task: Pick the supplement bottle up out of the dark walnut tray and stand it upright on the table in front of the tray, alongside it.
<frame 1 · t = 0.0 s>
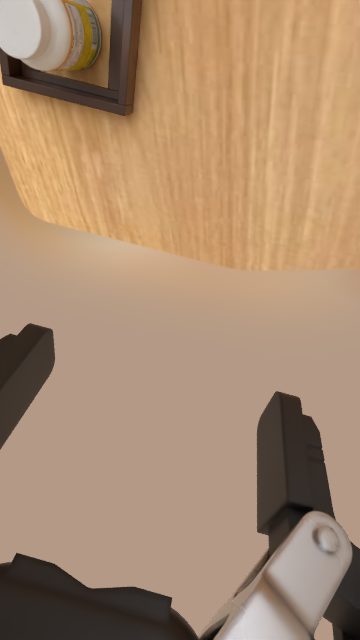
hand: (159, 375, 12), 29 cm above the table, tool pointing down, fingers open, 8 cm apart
supplement bottle: (75, 33, 30), resting in tray
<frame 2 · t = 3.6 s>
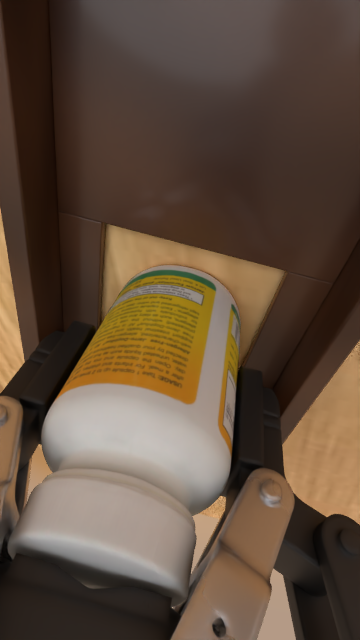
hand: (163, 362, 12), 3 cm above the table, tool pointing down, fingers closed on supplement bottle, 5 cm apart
tray: (199, 230, 12), on the table
supplement bottle: (179, 311, 15), resting in tray, touching gripper
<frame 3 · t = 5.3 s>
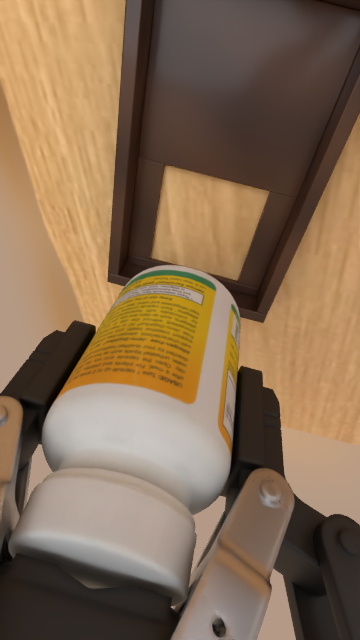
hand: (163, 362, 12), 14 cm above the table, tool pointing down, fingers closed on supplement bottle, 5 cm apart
tray: (219, 167, 21), on the table
supplement bottle: (179, 311, 15), point 11 cm above the table, touching gripper
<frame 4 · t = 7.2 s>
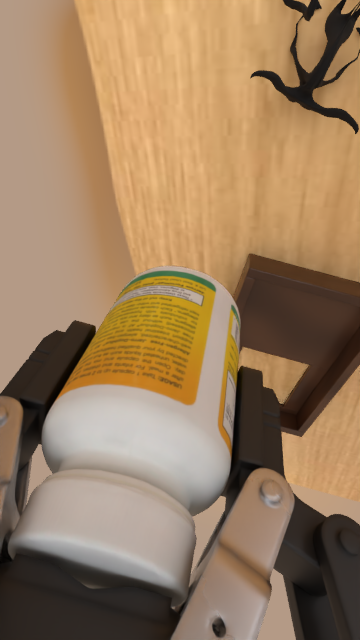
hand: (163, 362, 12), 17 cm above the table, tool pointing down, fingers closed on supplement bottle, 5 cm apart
tray: (278, 349, 32), on the table
supplement bottle: (179, 312, 15), point 14 cm above the table, touching gripper
creature: (332, 27, 18), on the table
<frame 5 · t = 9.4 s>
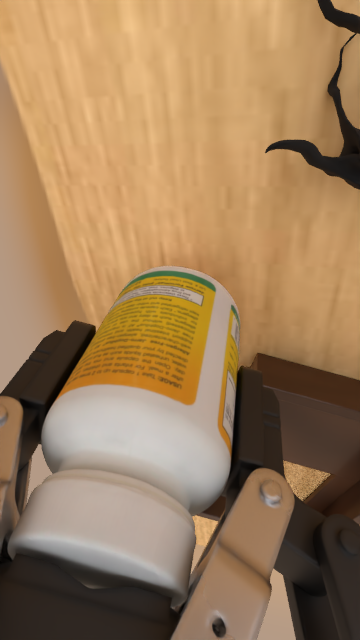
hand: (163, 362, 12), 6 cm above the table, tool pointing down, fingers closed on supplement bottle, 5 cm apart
tray: (293, 454, 25), on the table
supplement bottle: (179, 312, 15), point 3 cm above the table, touching gripper
when the fingers open (3 cm above the table, at t = 10.8 s): supplement bottle stays where it is, on the table.
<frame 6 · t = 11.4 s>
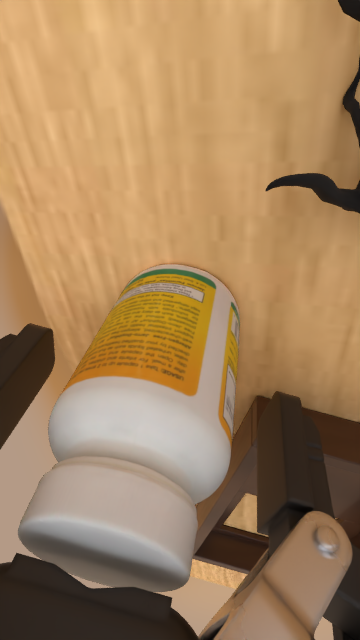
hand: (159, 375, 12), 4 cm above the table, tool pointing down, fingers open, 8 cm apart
tray: (297, 497, 23), on the table
supplement bottle: (180, 309, 15), on the table
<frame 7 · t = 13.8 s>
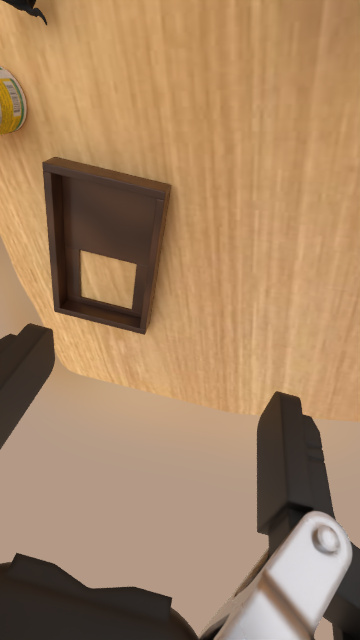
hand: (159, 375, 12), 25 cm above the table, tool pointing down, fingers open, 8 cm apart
tray: (108, 251, 38), on the table
supplement bottle: (2, 98, 31), on the table
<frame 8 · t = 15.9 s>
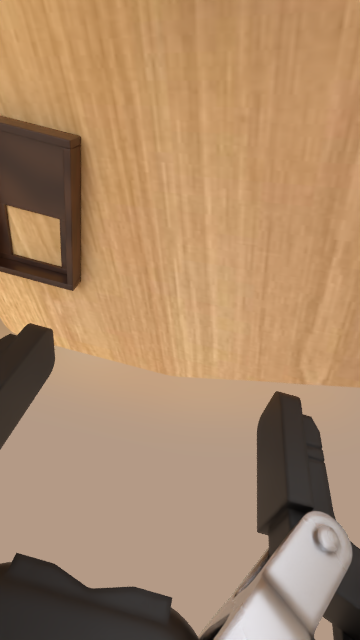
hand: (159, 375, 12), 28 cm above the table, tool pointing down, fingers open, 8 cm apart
tray: (33, 206, 40), on the table
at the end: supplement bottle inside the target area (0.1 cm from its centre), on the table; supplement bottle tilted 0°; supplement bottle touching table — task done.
